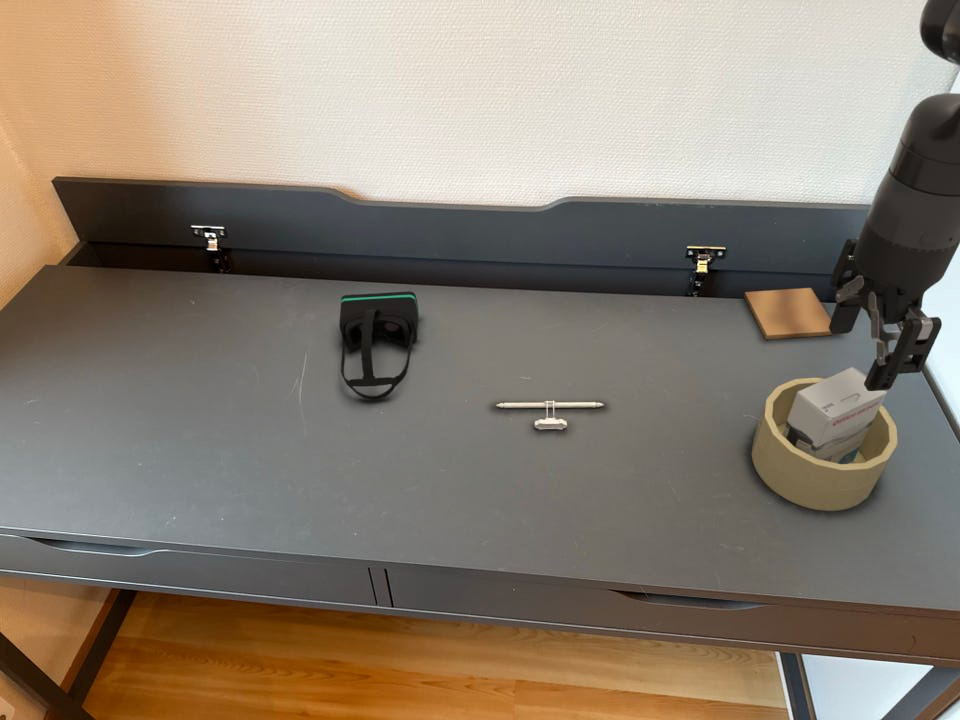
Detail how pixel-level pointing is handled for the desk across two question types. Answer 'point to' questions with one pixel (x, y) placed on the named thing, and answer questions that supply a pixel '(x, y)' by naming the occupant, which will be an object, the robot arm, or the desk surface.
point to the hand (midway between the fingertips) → (856, 358)
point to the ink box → (833, 417)
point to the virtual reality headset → (377, 331)
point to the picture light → (548, 422)
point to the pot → (814, 477)
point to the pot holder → (789, 313)
